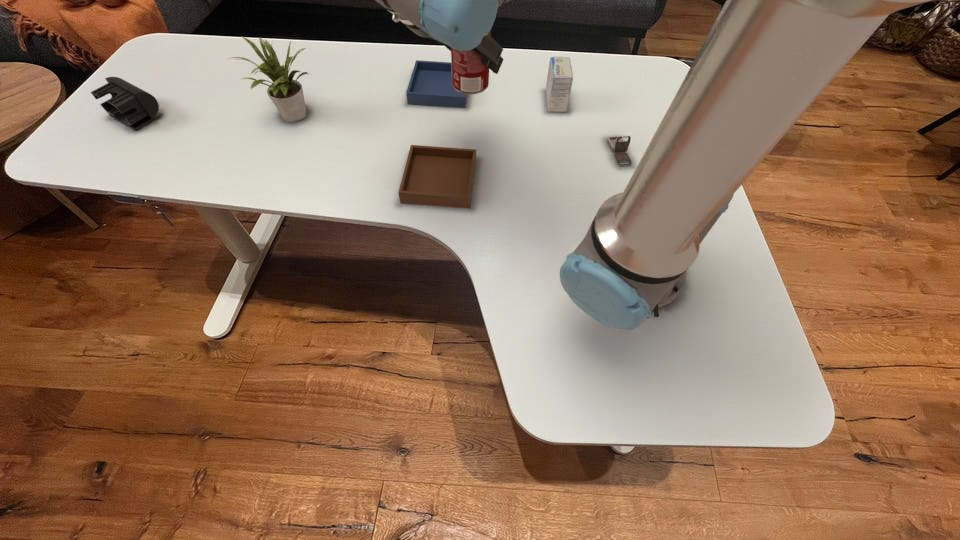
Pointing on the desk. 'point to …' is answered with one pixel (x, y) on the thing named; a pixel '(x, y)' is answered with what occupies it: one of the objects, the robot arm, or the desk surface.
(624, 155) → the strap clip
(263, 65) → the house plant
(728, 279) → the desk surface
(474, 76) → the soda can
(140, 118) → the end cap
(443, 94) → the blue tray
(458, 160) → the walnut tray
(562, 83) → the medicine box
